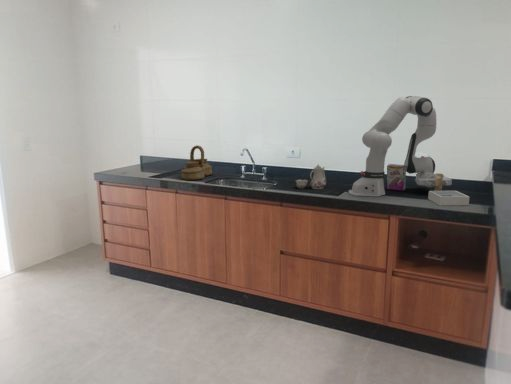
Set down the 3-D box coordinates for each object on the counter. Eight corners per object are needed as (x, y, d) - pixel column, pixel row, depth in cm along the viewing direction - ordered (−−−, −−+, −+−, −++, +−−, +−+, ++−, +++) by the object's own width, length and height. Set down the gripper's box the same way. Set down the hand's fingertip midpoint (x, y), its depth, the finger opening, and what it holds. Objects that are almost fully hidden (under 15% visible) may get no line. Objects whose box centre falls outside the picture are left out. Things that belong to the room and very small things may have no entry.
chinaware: (317, 185, 298) (316, 162, 296) (337, 185, 286) (335, 162, 284) (292, 191, 279) (290, 166, 277) (312, 192, 267) (310, 166, 265)
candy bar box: (386, 189, 274) (386, 165, 269) (388, 187, 278) (389, 163, 273) (403, 191, 268) (404, 166, 262) (405, 188, 272) (406, 164, 266)
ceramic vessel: (193, 173, 343) (192, 143, 338) (215, 174, 339) (214, 143, 334) (177, 180, 311) (175, 147, 305) (200, 181, 307) (199, 147, 301)
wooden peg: (435, 197, 249) (437, 174, 246) (432, 196, 253) (434, 173, 250) (442, 197, 249) (444, 174, 246) (439, 196, 253) (441, 173, 250)
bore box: (439, 205, 230) (440, 196, 229) (428, 199, 245) (428, 190, 244) (468, 205, 230) (469, 196, 229) (455, 198, 245) (456, 190, 244)
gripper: (413, 175, 262) (422, 178, 248) (446, 175, 262) (456, 178, 248) (412, 184, 263) (421, 189, 249) (445, 184, 263) (455, 189, 249)
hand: (439, 184), depth 249 cm, fingers open, 8 cm apart
